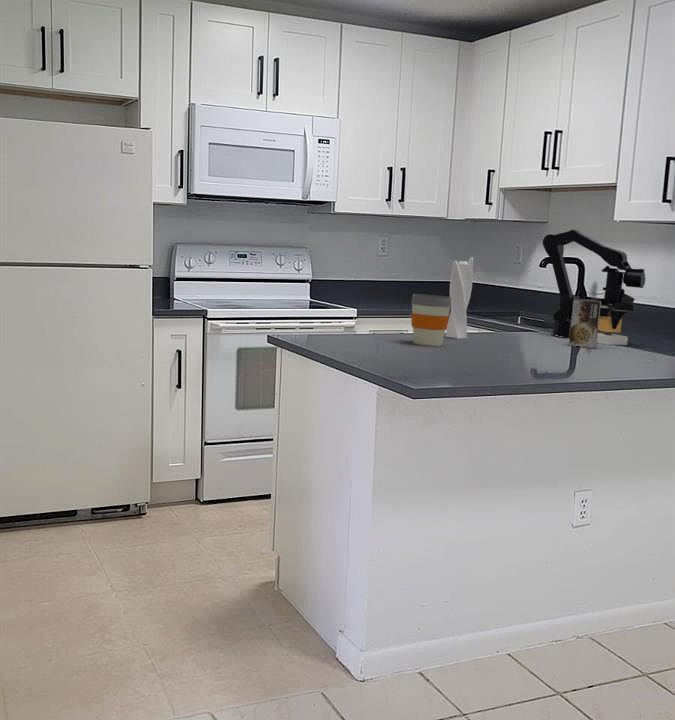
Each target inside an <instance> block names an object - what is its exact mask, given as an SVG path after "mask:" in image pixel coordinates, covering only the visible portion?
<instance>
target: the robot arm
mask: <svg viewBox="0 0 675 720" xmlns="http://www.w3.org/2000/svg"><path fill="white" fill-rule="evenodd" d="M573 242H575V243H576V244H578V245H579V246H582V247H583V248H585V249H587V250H589V251H591V252H593V253H594V254H596V255H598V256H599V257H600V258H601V259H602V260H603V261H604V262H606V264H608V265H606V266H605V267H604V268H602V269H601V273H607V274H606V281H605V286H604V287H602V291H604V296H603V298H599V297H592V298H591V299H590V300H596V301H601V306H600V315H599V316H601V317H608V313H609V312H610V317H611V320H612V328H613V329H616V327H617V325H618V323H619V321H620V319H622V318H623V316H624V315H625V314H626V313H629V312H634V311H635V305H634V301H635V300H636V299H635V298H634V297H632V296H630V295H628V294H626V293H625V290H626V289H624V288H623V284H625V287H627V288H639V289H643V288H644V286H645V284H646V274H645V273H646V272H645V269H644V268H632V267H631V265H630V263H629V261H628V257H627V256H628V255H627V253H626V252H624V251H621V250H620V249H619V250H618V249H616V248H613V247H609V246H606V245H604V244H602V243H600V242H598V241H597V240H595V239H593V238H591V237H589V236H587V235H585V234H584V233H582V232H580V231H579V230H577V229H571V230H568V231H565V232H561V233H556V234H547V235H545V236H544V238H543V239H542V246H543V248H544V250H545V253H546V254H547V256H549V258H550V260H551V264H552V269H553V272H554V277H555V280H556V284H557V289H558V292H559V302H558V306H559V309H558V310H557V311H556V312H555V313H553V314H552V317H553V329H552V330H553V331H552V334H553V335H558V336H564V337H563V338H569V337H570V330H571V321H572V311H573V300H574V299H580V296H579V295H574V293H573V290H572V287H571V282H570V278H569V276H568V271H567V267H566V262H565V259H564V250H565V247H564V246H566V245H568V244H571V243H573ZM613 267H615V268H613ZM612 308H613V309H612ZM553 335H552V336H553Z"/></svg>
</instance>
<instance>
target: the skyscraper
mask: <svg viewBox="0 0 675 720" xmlns="http://www.w3.org/2000/svg"><path fill="white" fill-rule="evenodd" d="M473 264H474V257H473V256H472V257H470V259H469V261H462V260H459V263H458V260H455V261H454V262H453V265H452V271H451V273H450V274H451V275H450V282H449V297H451V307H450V312H449V321H448V326H447V329H446V330H445V332H446V333H445V335H444V338H451V339H455V340H456V339H457V340H461V339H462V340H463V339H469V337H468V323H467V319H468V318H467V317H468V316H467V309H468V305H469V304H470V299H471V295H472V294H471V293H472V290H473V277H474V274H473V271H474V270H473V269H474V268H473Z"/></svg>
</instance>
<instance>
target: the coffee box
mask: <svg viewBox="0 0 675 720" xmlns="http://www.w3.org/2000/svg"><path fill="white" fill-rule="evenodd" d="M600 306H601V301H596V300H591V299H584V298H583V299H582V298H581V299H580V298H579V299H574V300H573V311H572V321H571V330H570V338H569V339H568V340H569V341H568V346H569V345H571V346H570V347H576V346H579V347H578V348H590V349H596V348H597V334H598V333H599V332H598V331H599V330H598V324H599V315H600Z"/></svg>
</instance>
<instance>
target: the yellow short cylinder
mask: <svg viewBox="0 0 675 720" xmlns="http://www.w3.org/2000/svg"><path fill="white" fill-rule="evenodd" d="M622 322H623V318H621V319H620V321H619V323H618V325H617V327H616V329H613V328H612V320H611V316H607V317H601V316H599V324H598V331H602V332H612V333H621V331H622V329H621V328H622Z"/></svg>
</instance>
